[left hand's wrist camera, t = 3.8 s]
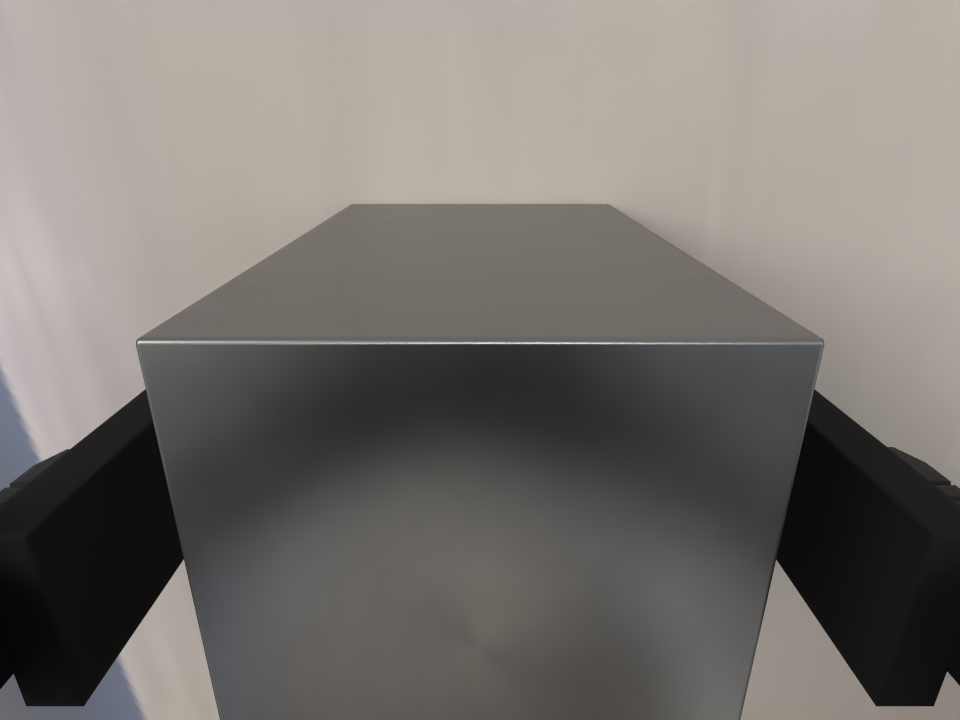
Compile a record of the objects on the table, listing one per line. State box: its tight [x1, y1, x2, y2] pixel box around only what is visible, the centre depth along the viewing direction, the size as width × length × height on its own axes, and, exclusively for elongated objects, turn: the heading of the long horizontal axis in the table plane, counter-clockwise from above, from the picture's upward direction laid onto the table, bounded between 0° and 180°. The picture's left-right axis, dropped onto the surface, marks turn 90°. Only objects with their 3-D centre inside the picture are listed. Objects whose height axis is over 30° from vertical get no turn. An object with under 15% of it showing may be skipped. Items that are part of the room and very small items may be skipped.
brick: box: [136, 204, 824, 720], centre depth 12 cm, size 8×7×10 cm
